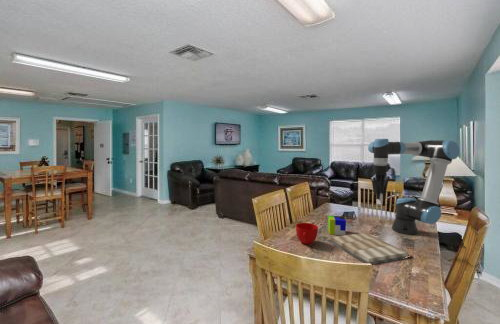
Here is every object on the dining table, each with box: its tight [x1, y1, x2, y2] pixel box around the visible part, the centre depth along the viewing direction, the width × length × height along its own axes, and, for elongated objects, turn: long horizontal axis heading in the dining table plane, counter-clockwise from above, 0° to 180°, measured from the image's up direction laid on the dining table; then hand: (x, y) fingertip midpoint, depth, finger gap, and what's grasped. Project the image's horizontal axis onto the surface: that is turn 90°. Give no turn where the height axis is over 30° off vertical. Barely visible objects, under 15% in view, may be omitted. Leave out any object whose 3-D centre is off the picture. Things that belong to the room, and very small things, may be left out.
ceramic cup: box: [295, 222, 319, 245], centre depth 152 cm, size 13×17×10 cm
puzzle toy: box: [327, 215, 347, 236], centre depth 172 cm, size 10×10×10 cm
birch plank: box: [355, 244, 409, 263], centre depth 136 cm, size 26×10×2 cm, turn 108°
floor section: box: [327, 232, 414, 265], centre depth 146 cm, size 30×33×2 cm
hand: (379, 204), depth 152 cm, fingers closed
